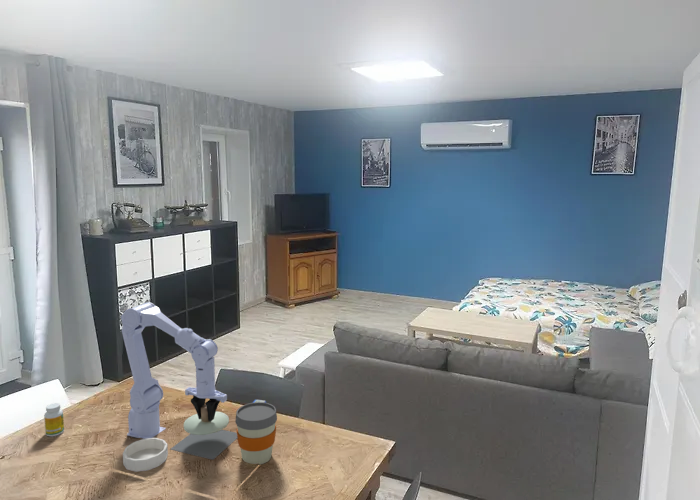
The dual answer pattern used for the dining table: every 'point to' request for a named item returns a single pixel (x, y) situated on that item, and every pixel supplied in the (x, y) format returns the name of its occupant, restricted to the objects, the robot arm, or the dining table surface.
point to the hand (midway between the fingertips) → (206, 418)
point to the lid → (205, 423)
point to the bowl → (145, 454)
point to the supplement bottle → (54, 420)
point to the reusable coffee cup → (256, 431)
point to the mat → (206, 444)
